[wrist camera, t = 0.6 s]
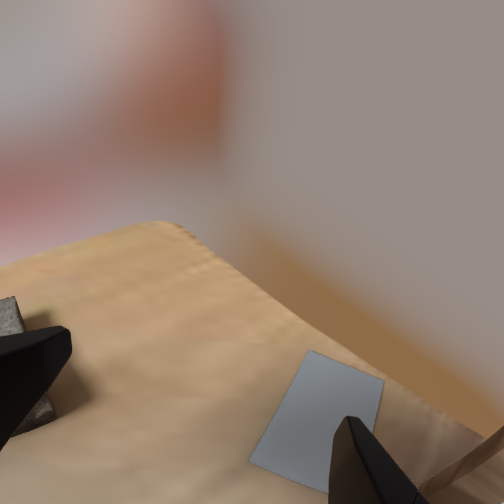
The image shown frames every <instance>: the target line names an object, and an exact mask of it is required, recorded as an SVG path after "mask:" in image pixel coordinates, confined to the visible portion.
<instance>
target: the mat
mask: <svg viewBox="0 0 504 504" xmlns="http://www.w3.org/2000/svg"><path fill="white" fill-rule="evenodd" d="M383 384H384V380H381V379H379V378H376V377H374V376H371V375H369V374H366V373H364V372H361V371H359V370H356V369H354V368H351V367H349V366H346V365H344V364H341V363H339V362H337V361H334V360H332V359H330V358H327V357H325V356H322V355H320V354H318V353H315V352H313V351H311V350H308V352H307V354H306V356H305V358H304V360H303V362H302V364H301V366H300V368H299V370H298V372H297V374H296V376H295V378H294V380H293V382H292V384H291V386H290V388H289V389H288V391H287V393H286V395H285V397H284V399H283V401H282V403H281V404H280V406H279V408H278V410H277V412H276V413H275V415H274V417H273V419H272V421H271V422H270V424H269V426H268V428H267V429H266V431H265V433H264V435H263V436H262V438H261V440H260V441H259V443H258V445H257V447H256V448H255V450H254V452H253V453H252V455H251V457H250V458H249V460H248V461H249V462H251V463H253V464H255V465H257V466H259V467H262V468H264V469H266V470H268V471H271V472H273V473H275V474H277V475H280V476H282V477H285V478H287V479H289V480H292V481H294V482H297V483H300V484H302V485H305V486H307V487H310V488H313V489H316V490H319V491H321V492H324V493H327V494H328V484H329V471H330V463H331V454H332V445H333V437H334V434H335V432H336V430H337V428H338V427H339V425H340V423H341V422H342V420H343V418H344V417H345V416H356V417H359V418H360V419H361V420H362V422H363V423H364V424H365V425H366V427H367V428H368V429H369V430H370V432H371V433H372V431H373V427H374V423H375V419H376V415H377V411H378V407H379V403H380V398H381V393H382V389H383Z"/></svg>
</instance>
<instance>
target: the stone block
mask: <svg viewBox="0 0 504 504" xmlns="http://www.w3.org/2000/svg"><path fill="white" fill-rule="evenodd" d="M22 332H26V329H25V326H24V322H23V319H22V316H21V313H20V310H19V307H18V304H17V301H16V298H15V296H12V297H11V298H8V297H7V298H5V299H2V300H0V336H5V335H11V334H16V333H22ZM56 417H57V415H56V413H55V410H54V407H53V405H52V403H51V400H50V398H49V395H48V393H47V391H46V393H45V394H44V395H43V396H42V398H41V399H40V400H39V401H38V403H37V404H36V405H35V406H34V408H33V409H32V410H31V411H30V413H29V414H28V415H27V417H26V418H25V419H24V420H23V422H22V423H21V424H20V426H19V427H18V428H17V429H16V431H15V432H14V433H13V435H12V436H11V437H14V436H17V435H19V434H22V433H25V432H28V431H31V430H33V429H35V428H38V427H40V426H42V425H44V424H47V423H49V422H51V421H52V420H54V419H55V418H56Z"/></svg>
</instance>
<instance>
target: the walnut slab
mask: <svg viewBox="0 0 504 504" xmlns="http://www.w3.org/2000/svg"><path fill="white" fill-rule="evenodd" d="M419 492H420V493H421V494H422V495H423V496H424V498H425V499H426V500H427V501H428V502H429V503H430V504H501V503H503V502H504V426H503V427H502V428H501V429H499V430H498V431H497V432H496V433H495V434H494V435H492V436H491V437H490V438H489V439H487V440H486V441H485V442H483V443H482V444H481V445H480V446H478V447H477V448H476V449H474V450H473V451H472V452H470V453H469V454H468V455H466V456H465V457H463V458H462V459H461V460H459V461H458V462H456V463H455V464H453V465H452V466H450V467H449V468H447V469H446V470H444V471H443V472H441V473H439V474H438V475H436V476H435V477H433V478H431V479H430V480H428V481H426V482H425V483H423V485H422V486H421V488H420V490H419Z"/></svg>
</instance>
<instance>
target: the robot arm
mask: <svg viewBox="0 0 504 504" xmlns="http://www.w3.org/2000/svg"><path fill="white" fill-rule="evenodd" d="M71 353H72V342H71V333H70V331H69V330H68V329H67V328H65V327H63V326H53V327H48V328H43V329H38V330H33V331H27V332H22V333H16V334H11V335H5V336H0V451H1V450H2V448H3V447H4V445H5V444H6V443H7V441H8V440H9V439H10V437H11V436H12V435H13V433H14V432H15V431H16V429H17V428H18V427H19V426H20V424H21V423H22V422H23V420H24V419H25V418H26V417H27V415H28V414H29V413H30V411H31V410H32V409H33V408H34V406H35V405H36V404H37V403H38V401H39V400H40V399H41V398H42V396H43V395H44V394H45V393H46V391H47V390H48V389H49V388H50V386H51V385H52V383H53V382H54V380H55V379H56V377H57V376H58V374H59V373H60V371H61V370H62V368H63V367H64V365H65V364H66V362H67V361H68V359H69V358H70V356H71ZM328 504H430V503H429V502H428V501H427V500H426V499H425V498H424V496H423V495H422V494H421V493H420V492H419V491H418V489H417V488H416V487H415V486H414V484H413V483H412V482H411V481H410V480H409V478H408V477H407V476H406V475H405V474H404V472H403V471H402V470H401V469H400V467H399V466H398V465H397V464H396V463H395V461H394V460H393V459H392V458H391V456H390V455H389V454H388V453H387V451H386V450H385V449H384V448H383V447H382V445H381V444H380V443H379V442H378V440H377V439H376V438H375V437H374V435H373V434H372V433H371V432H370V430H369V429H368V428H367V427H366V425H365V424H364V423H363V422H362V420H361V419H360V418H359V417H356V416H345V417H344V418H343V420H342V422H341V423H340V425H339V427H338V428H337V430H336V432H335V434H334V437H333V445H332V454H331V463H330V471H329V484H328Z"/></svg>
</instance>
